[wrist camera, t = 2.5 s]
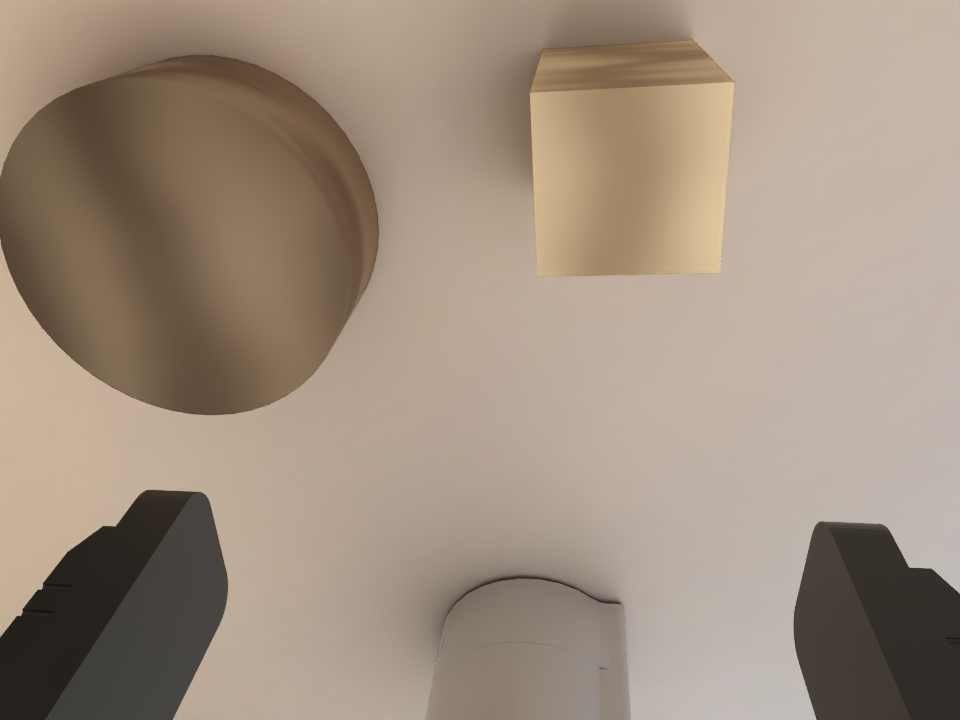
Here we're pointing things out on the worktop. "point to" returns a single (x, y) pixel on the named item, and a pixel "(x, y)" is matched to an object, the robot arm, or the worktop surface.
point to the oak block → (629, 159)
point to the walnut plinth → (189, 232)
